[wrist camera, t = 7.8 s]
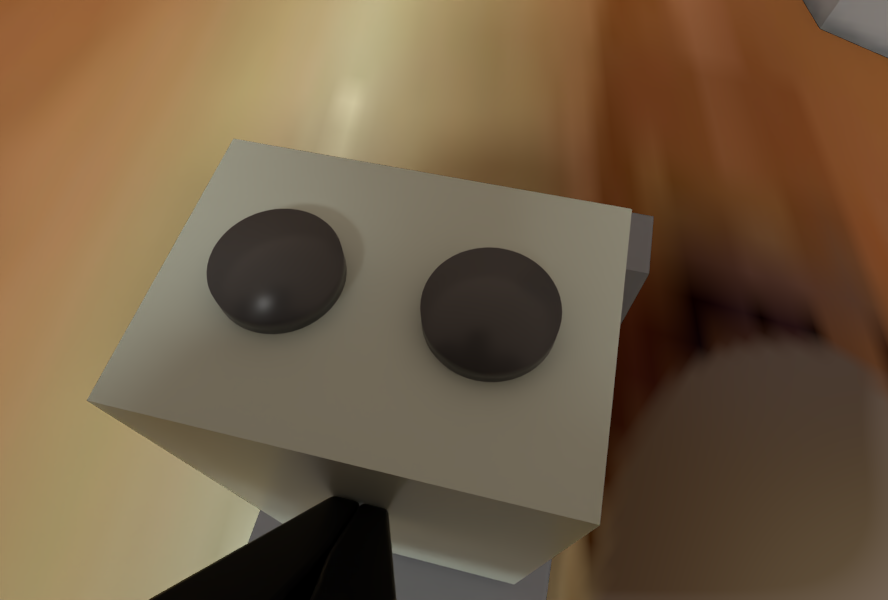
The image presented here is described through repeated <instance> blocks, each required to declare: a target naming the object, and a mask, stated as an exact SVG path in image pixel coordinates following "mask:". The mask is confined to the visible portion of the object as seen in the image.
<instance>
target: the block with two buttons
mask: <svg viewBox="0 0 888 600" xmlns="http://www.w3.org/2000/svg"><path fill="white" fill-rule="evenodd" d="M631 214H632V209H629V208H623V207H618V206H612V205H606V204H601V203H595V202H589V201H584V200H578V199H572V198H567V197H561V196H555V195H550V194H544V193H538V192H533V191H527V190H521V189H516V188H510V187H504V186H499V185H493V184H487V183H482V182H476V181H470V180H465V179H459V178H454V177H448V176H442V175H437V174H431V173H425V172H420V171H414V170H408V169H403V168H397V167H391V166H386V165H380V164H374V163H369V162H363V161H357V160H352V159H346V158H340V157H335V156H329V155H323V154H318V153H312V152H306V151H301V150H295V149H289V148H284V147H278V146H272V145H267V144H261V143H255V142H250V141H244V140H238V139H233V140H232V142H231V144H230V146H229V148H228V149H227V151H226V153H225V155H224V157H223V158H222V160H221V162H220V164H219V165H218V167H217V169H216V171H215V173H214V174H213V176H212V178H211V180H210V182H209V183H208V185H207V187H206V189H205V190H204V192H203V194H202V196H201V198H200V199H199V201H198V203H197V205H196V207H195V208H194V210H193V212H192V214H191V215H190V217H189V219H188V221H187V223H186V224H185V226H184V228H183V230H182V232H181V233H180V235H179V237H178V239H177V240H176V242H175V244H174V246H173V248H172V249H171V251H170V253H169V255H168V256H167V258H166V260H165V262H164V264H163V265H162V267H161V269H160V271H159V273H158V274H157V276H156V278H155V280H154V281H153V283H152V285H151V287H150V289H149V290H148V292H147V294H146V296H145V298H144V299H143V301H142V303H141V305H140V306H139V308H138V310H137V312H136V314H135V315H134V317H133V319H132V321H131V323H130V324H129V326H128V328H127V330H126V331H125V333H124V335H123V337H122V339H121V340H120V342H119V344H118V346H117V348H116V349H115V351H114V353H113V355H112V356H111V358H110V360H109V362H108V364H107V365H106V367H105V369H104V371H103V373H102V374H101V376H100V378H99V380H98V381H97V383H96V385H95V387H94V389H93V390H92V392H91V394H90V396H89V398H88V399H87V401H88V402H90V403H92V404H93V405H95V406H96V407H98V408H100V409H101V410H103V411H104V412H106V413H108V414H109V415H111V416H112V417H114V418H115V419H117V420H119V421H120V422H122V423H123V424H125V425H127V426H128V427H130V428H131V429H133V430H135V431H136V432H138V433H139V434H141V435H142V436H144V437H146V438H147V439H149V440H150V441H152V442H154V443H155V444H157V445H158V446H160V447H162V448H163V449H165V450H166V451H168V452H170V453H171V454H173V455H174V456H176V457H177V458H179V459H181V460H182V461H184V462H185V463H187V464H189V465H190V466H192V467H193V468H195V469H197V470H198V471H200V472H201V473H203V474H204V475H206V476H208V477H209V478H211V479H212V480H214V481H216V482H217V483H219V484H220V485H222V486H224V487H225V488H227V489H228V490H230V491H231V492H233V493H235V494H236V495H238V496H239V497H241V498H243V499H244V500H246V501H247V502H249V503H251V504H252V505H254V506H255V507H257V508H258V509H260V510H262V511H263V512H265V513H266V514H268V515H270V516H271V517H273V518H274V519H276V520H278V521H279V522H281V523H282V524H283V523H285V522H287V521H289V520H290V519H292V518H294V517H296V516H297V515H299V514H301V513H303V512H304V511H306V510H308V509H310V508H312V507H313V506H315V505H317V504H319V503H320V502H322V501H324V500H326V499H327V498H329V497H332V496H337V497H341V498H345V499H349V500H353V501H356V502H358V503H359V506H360V505H361V504H369V505H373V506H377V507H381V508H385V509H386V510H388V513H389V522H390V533H391V544H392V553H395V554H399V555H402V556H406V557H410V558H414V559H418V560H422V561H425V562H429V563H433V564H437V565H441V566H445V567H449V568H452V569H456V570H460V571H464V572H468V573H472V574H476V575H479V576H483V577H487V578H491V579H495V580H499V581H503V582H506V583H510V584H516V583H517V582H519V581H520V580H521V579H523V578H524V577H526V576H527V575H529V574H530V573H532V572H533V571H534V570H536V569H537V568H539V567H540V566H542V565H543V564H544V563H546V562H547V561H549V560H550V559H552V558H553V557H555V556H556V555H557V554H559V553H560V552H562V551H563V550H565V549H566V548H568V547H569V546H570V545H572V544H573V543H575V542H576V541H578V540H579V539H581V538H582V537H583V536H585V535H586V534H588V533H589V532H591V531H592V530H593V529H595V528H596V527H598V526H599V525H600V519H601V509H602V499H603V490H604V480H605V470H606V460H607V450H608V440H609V431H610V421H611V411H612V401H613V391H614V381H615V372H616V362H617V352H618V342H619V332H620V322H621V313H622V303H623V293H624V283H625V273H626V263H627V254H628V244H629V234H630V224H631Z"/></svg>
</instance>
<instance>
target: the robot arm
mask: <svg viewBox="0 0 888 600" xmlns="http://www.w3.org/2000/svg"><path fill="white" fill-rule="evenodd" d="M149 600H397V599H396V588H395V577H394V566H393V555H392V544H391V533H390V522H389V513H388V510H386V509H385V508H381V507H377V506H373V505H369V504H361V505H360V506H359V503H358V502H356V501H353V500H349V499H345V498H341V497H337V496H332V497H329V498H327V499H326V500H324V501H322V502H320V503H319V504H317V505H315V506H313V507H312V508H310V509H308V510H306V511H304V512H303V513H301V514H299V515H297V516H296V517H294V518H292V519H290V520H289V521H287V522H285V523H283V524H282V525H280V526H278V527H276V528H274V529H273V530H271V531H269V532H267V533H266V534H264V535H262V536H260V537H259V538H257V539H255V540H253V541H251V542H250V543H248V544H246V545H244V546H243V547H241V548H239V549H237V550H236V551H234V552H232V553H230V554H229V555H227V556H225V557H223V558H221V559H220V560H218V561H216V562H214V563H213V564H211V565H209V566H207V567H206V568H204V569H202V570H200V571H198V572H197V573H195V574H193V575H191V576H190V577H188V578H186V579H184V580H183V581H181V582H179V583H177V584H176V585H174V586H172V587H170V588H168V589H167V590H165V591H163V592H161V593H160V594H158V595H156V596H154V597H153V598H151V599H149Z"/></svg>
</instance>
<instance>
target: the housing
mask: <svg viewBox="0 0 888 600" xmlns="http://www.w3.org/2000/svg"><path fill="white" fill-rule="evenodd" d="M653 218H654V217H653V216H648V215H642V214H637V213H632V214H631V224H630V234H629V244H628V254H627V263H626V273H625V283H624V293H623V303H622V313H621V322H620V325H621V323H622V321H623V319H624V317H625V316H626V314H627V312H628V310H629V309H630V307H631V305H632V303H633V301H634V300H635V298H636V296H637V294H638V292H639V291H640V289H641V287H642V285H643V284H644V282H645V280H646V278H647V276H648V275H649V268H650V256H651V243H652V230H653ZM280 525H282V523H281V522H279V521H278V520H276V519H274V518H273V517H271V516H270V515H268V514H266V513H265V512H263V511H262V510H260V512H259V515H258V518H257V520H256V523H255V526H254V528H253V531H252V534H251V536H250V539H249V542H248V543H250V542H251V541H253V540H255V539H257V538H259V537H260V536H262V535H264V534H266V533H267V532H269V531H271V530H273V529H274V528H276V527H278V526H280ZM392 555H393V566H394V577H395V588H396V599H397V600H546V598H547V590H548V583H549V576H550V568H551V561H552V559H550V560H549V561H547V562H546V563H544V564H543V565H542V566H540V567H539V568H537V569H536V570H534V571H533V572H532V573H530V574H529V575H527V576H526V577H524V578H523V579H521V580H520V581H519V582H517V583H516V584H510V583H506V582H503V581H499V580H495V579H491V578H487V577H483V576H479V575H476V574H472V573H468V572H464V571H460V570H456V569H452V568H449V567H445V566H441V565H437V564H433V563H429V562H425V561H422V560H418V559H414V558H410V557H406V556H402V555H399V554H395V553H392Z"/></svg>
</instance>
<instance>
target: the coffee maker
mask: <svg viewBox="0 0 888 600" xmlns="http://www.w3.org/2000/svg"><path fill="white" fill-rule="evenodd" d="M803 1H804V3H805V4H806V6H807V8H808V10H809V11H810V13H811V15H812V16H813V18H814V20H815V21H816V23H817V25H818V26H819V28H820V29H822V30H825V31H827V32H829V33H832V34H834V35H836V36H838V37H841V38H843V39H845V40H848V41H850V42H852V43H855V44H857V45H859V46H862V47H864V48H866V49H869V50H871V51H873V52H876V53H878V54H880V55H883V56H885V57H887V58H888V0H803Z"/></svg>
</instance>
